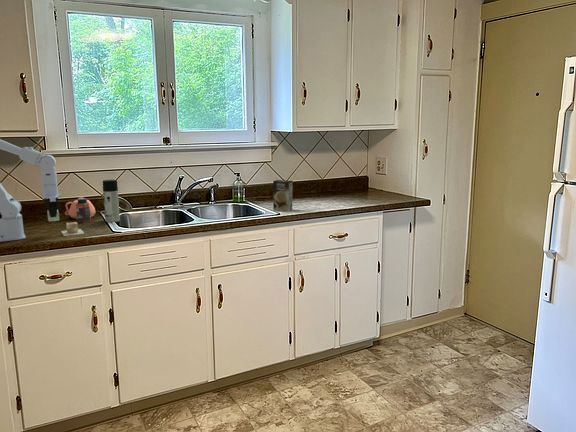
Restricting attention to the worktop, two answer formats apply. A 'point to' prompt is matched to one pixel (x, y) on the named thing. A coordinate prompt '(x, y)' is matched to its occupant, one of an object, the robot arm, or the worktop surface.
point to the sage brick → (53, 217)
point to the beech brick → (72, 227)
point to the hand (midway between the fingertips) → (52, 216)
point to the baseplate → (72, 233)
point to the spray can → (111, 200)
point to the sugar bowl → (73, 211)
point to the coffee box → (282, 195)
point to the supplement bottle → (83, 210)
